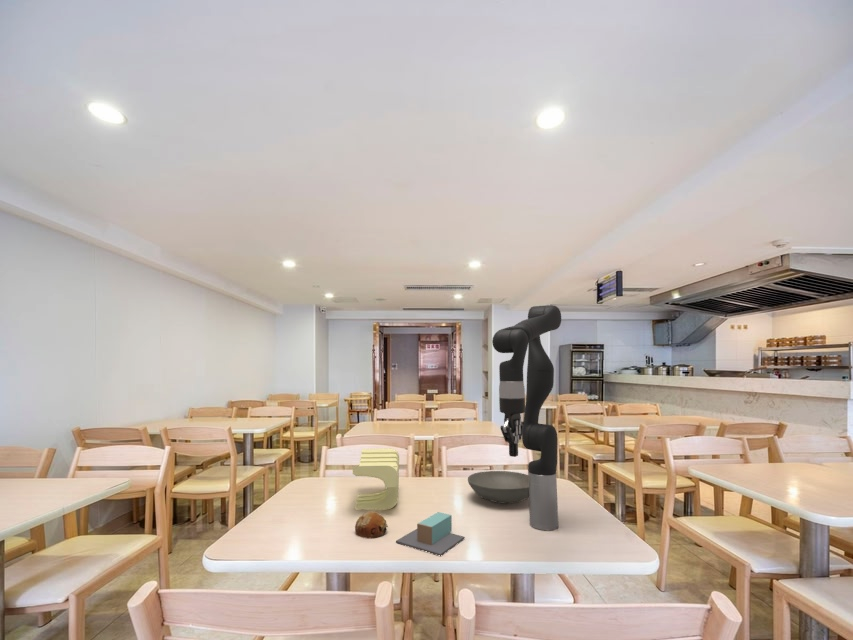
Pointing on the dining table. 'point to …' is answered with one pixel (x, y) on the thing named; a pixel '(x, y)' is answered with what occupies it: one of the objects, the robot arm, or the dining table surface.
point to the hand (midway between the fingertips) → (513, 456)
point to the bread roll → (371, 525)
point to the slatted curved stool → (381, 467)
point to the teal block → (434, 528)
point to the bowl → (500, 486)
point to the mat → (435, 548)
